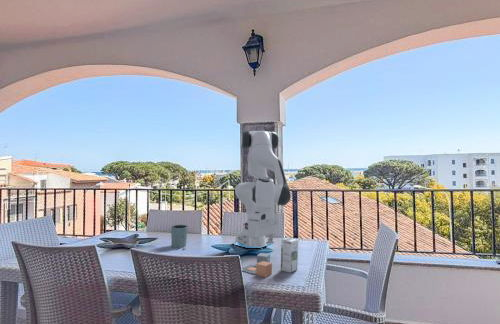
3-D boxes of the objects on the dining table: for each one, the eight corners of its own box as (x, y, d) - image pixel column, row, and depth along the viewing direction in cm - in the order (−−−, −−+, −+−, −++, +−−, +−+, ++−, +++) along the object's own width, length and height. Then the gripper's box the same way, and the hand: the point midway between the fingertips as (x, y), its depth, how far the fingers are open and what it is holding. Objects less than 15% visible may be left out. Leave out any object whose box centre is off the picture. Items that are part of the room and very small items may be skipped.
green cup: (175, 243, 186) (175, 224, 186) (190, 244, 184) (190, 225, 184) (167, 247, 176) (167, 227, 176) (183, 249, 174) (183, 228, 174)
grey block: (256, 265, 146) (256, 255, 146) (260, 262, 151) (260, 252, 151) (266, 267, 144) (266, 256, 144) (269, 264, 149) (269, 254, 149)
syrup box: (287, 267, 144) (287, 237, 144) (297, 270, 140) (298, 239, 140) (280, 270, 139) (280, 239, 140) (291, 273, 136) (291, 241, 136)
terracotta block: (256, 275, 133) (256, 263, 133) (262, 272, 137) (262, 261, 137) (265, 277, 130) (265, 266, 130) (271, 274, 134) (271, 263, 134)
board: (239, 270, 139) (239, 269, 139) (250, 265, 146) (250, 264, 146) (254, 274, 133) (254, 273, 133) (266, 269, 140) (266, 268, 140)
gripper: (271, 211, 145) (271, 239, 144) (245, 215, 128) (245, 248, 128) (282, 212, 141) (282, 241, 140) (257, 217, 124) (256, 250, 124)
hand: (264, 244), depth 134 cm, fingers open, 8 cm apart
